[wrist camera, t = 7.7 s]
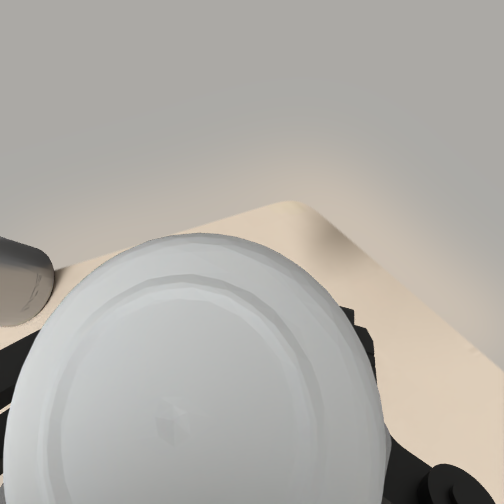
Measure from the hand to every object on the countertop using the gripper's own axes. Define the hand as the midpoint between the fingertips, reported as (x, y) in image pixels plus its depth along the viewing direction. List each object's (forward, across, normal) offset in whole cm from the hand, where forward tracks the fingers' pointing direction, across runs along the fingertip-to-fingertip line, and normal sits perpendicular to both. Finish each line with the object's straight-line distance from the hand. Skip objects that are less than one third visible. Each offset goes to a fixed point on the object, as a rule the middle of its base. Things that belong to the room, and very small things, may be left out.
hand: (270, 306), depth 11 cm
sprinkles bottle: (+3, 0, +6) cm, 6 cm away
